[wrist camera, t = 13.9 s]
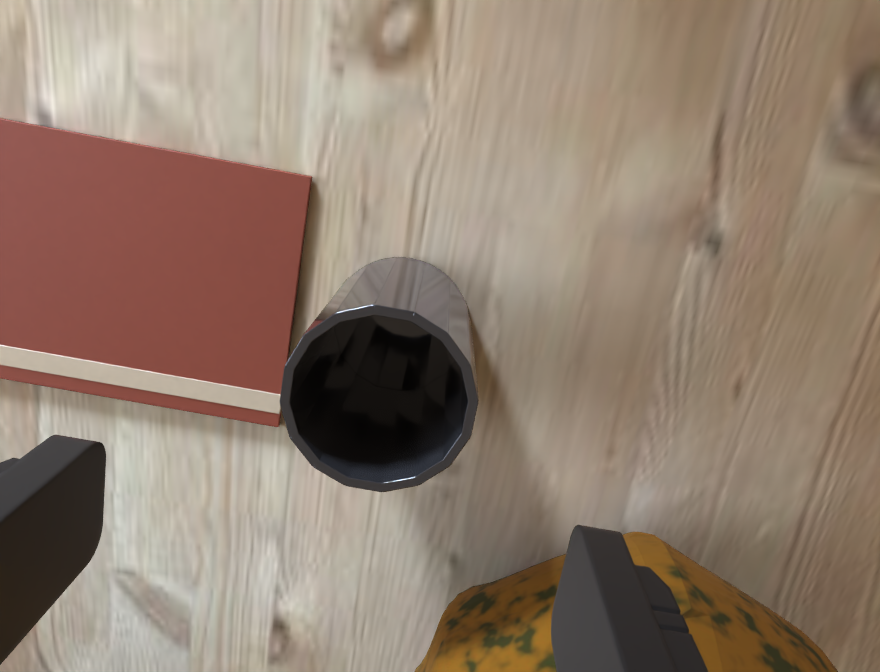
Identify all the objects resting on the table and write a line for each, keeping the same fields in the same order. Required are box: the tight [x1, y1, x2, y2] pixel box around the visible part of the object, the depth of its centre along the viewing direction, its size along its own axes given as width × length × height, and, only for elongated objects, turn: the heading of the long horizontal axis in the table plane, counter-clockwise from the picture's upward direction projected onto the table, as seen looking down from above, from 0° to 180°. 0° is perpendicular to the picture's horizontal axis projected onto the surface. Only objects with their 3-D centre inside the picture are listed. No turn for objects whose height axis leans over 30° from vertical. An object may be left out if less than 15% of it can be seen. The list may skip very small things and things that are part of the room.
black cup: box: [280, 257, 478, 492], centre depth 29 cm, size 6×6×10 cm
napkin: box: [0, 118, 312, 427], centre depth 33 cm, size 16×12×1 cm
